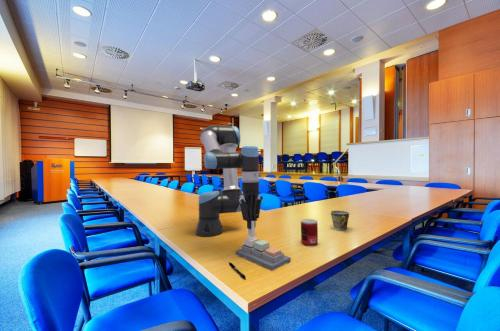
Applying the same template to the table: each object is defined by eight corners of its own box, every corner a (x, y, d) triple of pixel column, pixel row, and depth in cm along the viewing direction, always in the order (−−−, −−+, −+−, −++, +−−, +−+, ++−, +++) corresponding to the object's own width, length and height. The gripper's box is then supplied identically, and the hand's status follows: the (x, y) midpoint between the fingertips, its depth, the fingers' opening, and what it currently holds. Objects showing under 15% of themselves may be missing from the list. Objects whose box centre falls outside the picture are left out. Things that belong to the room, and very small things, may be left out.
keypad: (235, 254, 94) (235, 245, 94) (253, 247, 101) (253, 239, 101) (272, 270, 78) (271, 260, 78) (290, 261, 86) (290, 252, 86)
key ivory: (244, 244, 94) (244, 238, 94) (251, 241, 97) (251, 236, 97) (251, 247, 91) (251, 241, 91) (258, 244, 94) (258, 238, 94)
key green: (254, 248, 90) (253, 242, 90) (261, 245, 93) (261, 239, 93) (261, 251, 86) (261, 245, 86) (269, 248, 89) (269, 242, 90)
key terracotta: (264, 256, 85) (264, 250, 85) (272, 253, 88) (272, 247, 88) (273, 259, 82) (273, 253, 82) (281, 256, 85) (281, 250, 85)
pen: (247, 281, 73) (248, 277, 73) (243, 280, 72) (244, 277, 72) (231, 264, 85) (232, 261, 85) (227, 263, 84) (228, 261, 84)
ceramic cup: (328, 226, 133) (328, 210, 133) (345, 226, 132) (345, 210, 132) (336, 233, 120) (336, 215, 120) (354, 233, 119) (354, 215, 119)
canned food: (319, 242, 106) (319, 220, 106) (314, 247, 99) (314, 223, 100) (304, 239, 110) (304, 218, 110) (298, 244, 104) (298, 221, 104)
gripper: (244, 182, 87) (246, 241, 87) (266, 181, 96) (268, 234, 96) (233, 182, 93) (234, 237, 92) (255, 180, 101) (256, 231, 101)
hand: (251, 235), depth 94 cm, fingers closed
